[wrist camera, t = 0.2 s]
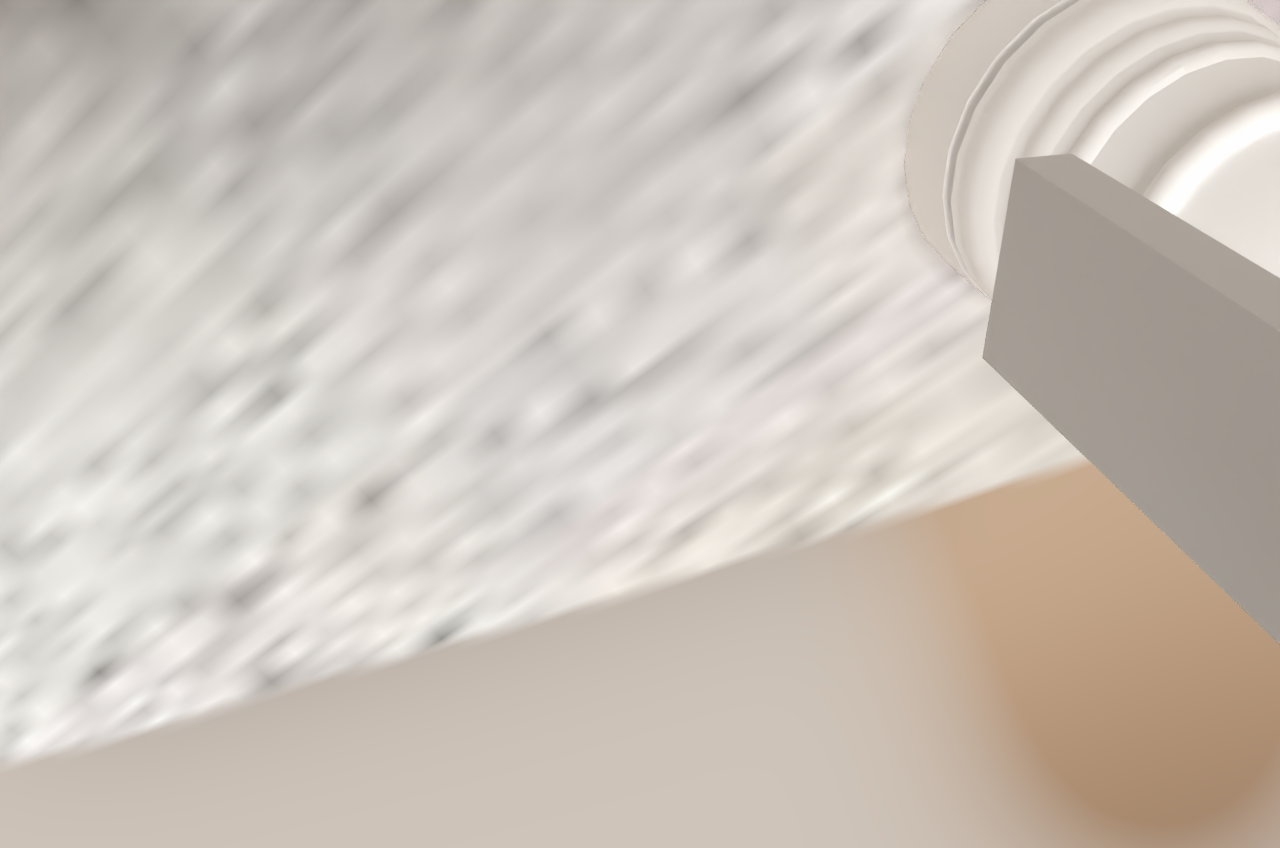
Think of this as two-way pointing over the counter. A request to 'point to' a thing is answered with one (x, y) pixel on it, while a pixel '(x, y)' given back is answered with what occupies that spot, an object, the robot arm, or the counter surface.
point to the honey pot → (1101, 118)
